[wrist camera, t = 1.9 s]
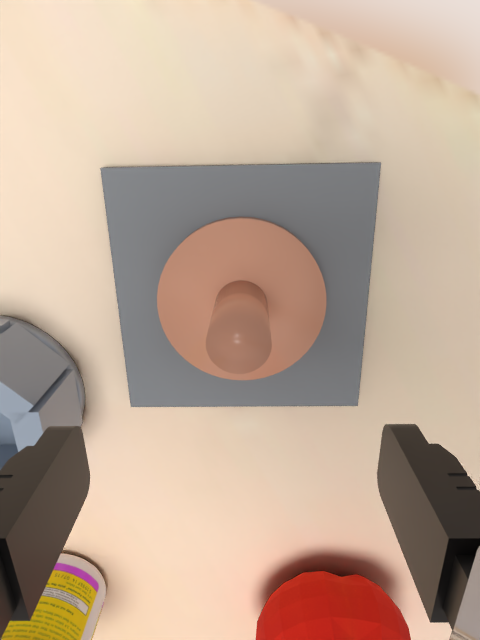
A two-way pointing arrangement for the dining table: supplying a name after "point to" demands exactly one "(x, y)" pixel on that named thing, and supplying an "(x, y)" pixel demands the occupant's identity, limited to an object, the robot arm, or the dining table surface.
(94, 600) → the supplement bottle
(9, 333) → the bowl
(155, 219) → the mat
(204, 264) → the lid
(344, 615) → the tomato
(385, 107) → the dining table surface
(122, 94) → the dining table surface
